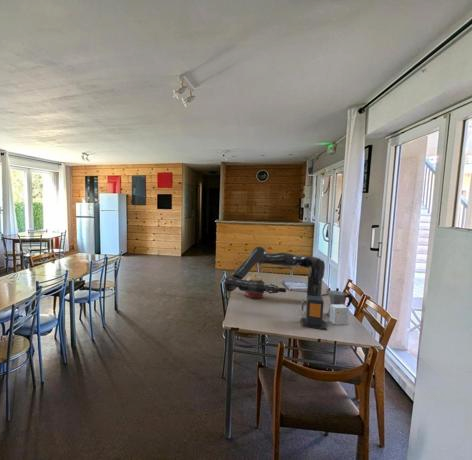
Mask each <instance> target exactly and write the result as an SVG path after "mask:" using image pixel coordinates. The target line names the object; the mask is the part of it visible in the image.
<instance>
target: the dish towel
mask: <svg viewBox="0 0 472 460" xmlns="http://www.w3.org/2000/svg"><path fill="white" fill-rule="evenodd" d="M282 282H283V284H284V286H286V288H287V289H289V290H290V291H294V292H295V291H296V292H307V285H306V284H305V283H304V282H303V281H298V280H282Z"/></svg>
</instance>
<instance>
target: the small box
mask: <svg viewBox="0 0 472 460" xmlns="http://www.w3.org/2000/svg"><path fill="white" fill-rule="evenodd" d="M345 305H346V304H345ZM345 305H344V303H343V304H335V305H330V304H329V307H330V316H329V322H330V323H331V324H332V325H335V326H339V325H340V326H342V325H343V326H344V325H345V326H346V325H349V324H348V323H349V322H348V321H349V307H346V306H345Z"/></svg>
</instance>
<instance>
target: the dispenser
mask: <svg viewBox="0 0 472 460" xmlns="http://www.w3.org/2000/svg"><path fill="white" fill-rule="evenodd" d="M306 299H307V303H306V307H305V311H302V313H303V315H305V317H301V322H302V327H304V328H309V329H316V330H323V331H327V326H326V323H325V320H323V317H324V316H323V315H324V299H323V296H321V297H319V296H310V295H307V294H306Z"/></svg>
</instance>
